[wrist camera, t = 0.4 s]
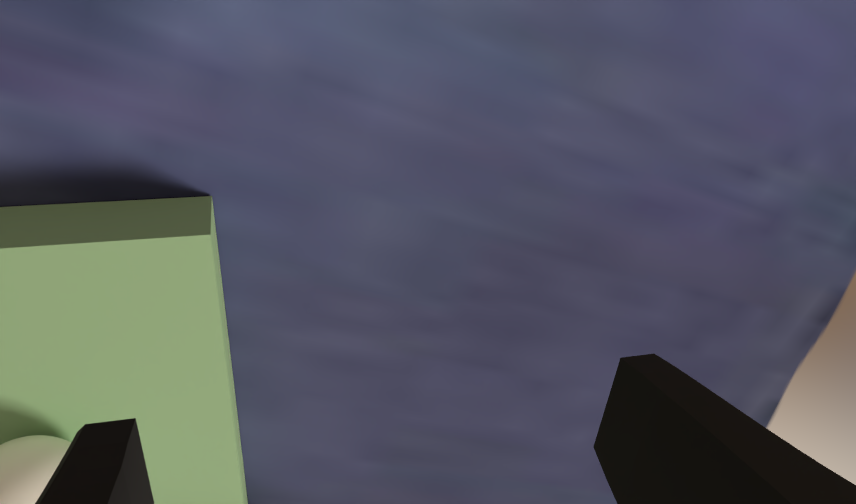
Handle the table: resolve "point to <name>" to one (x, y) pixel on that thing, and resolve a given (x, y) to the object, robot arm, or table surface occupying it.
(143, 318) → the putting mat
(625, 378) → the robot arm
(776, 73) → the table surface
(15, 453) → the ball
